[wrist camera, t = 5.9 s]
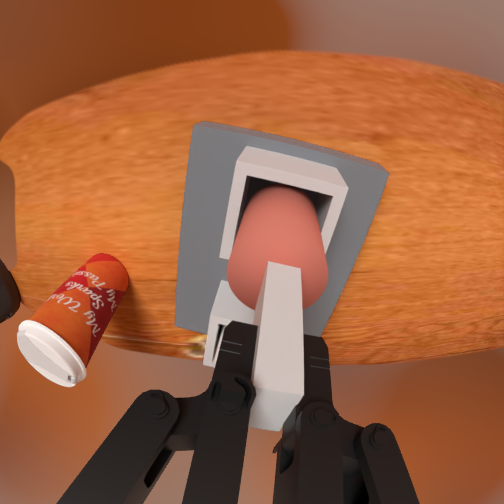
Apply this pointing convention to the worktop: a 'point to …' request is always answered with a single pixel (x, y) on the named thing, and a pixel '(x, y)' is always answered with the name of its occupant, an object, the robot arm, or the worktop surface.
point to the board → (232, 210)
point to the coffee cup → (73, 320)
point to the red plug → (278, 243)
